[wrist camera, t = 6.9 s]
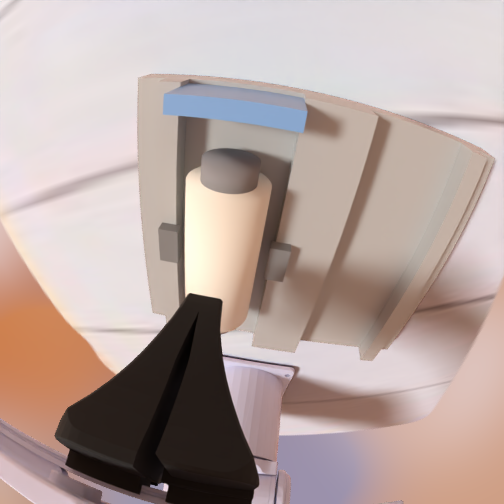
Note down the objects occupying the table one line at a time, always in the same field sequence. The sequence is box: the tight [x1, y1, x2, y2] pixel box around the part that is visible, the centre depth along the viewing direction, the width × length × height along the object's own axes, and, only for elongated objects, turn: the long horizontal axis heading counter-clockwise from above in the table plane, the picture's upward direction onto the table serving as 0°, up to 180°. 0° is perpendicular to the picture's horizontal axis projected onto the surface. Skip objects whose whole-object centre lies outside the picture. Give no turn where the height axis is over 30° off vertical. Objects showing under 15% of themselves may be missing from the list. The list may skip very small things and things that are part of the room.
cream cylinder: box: [185, 148, 272, 334], centre depth 15 cm, size 10×4×4 cm, turn 172°
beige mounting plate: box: [137, 74, 495, 361], centre depth 16 cm, size 16×18×4 cm
